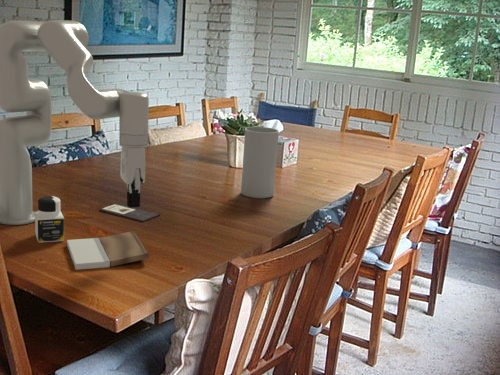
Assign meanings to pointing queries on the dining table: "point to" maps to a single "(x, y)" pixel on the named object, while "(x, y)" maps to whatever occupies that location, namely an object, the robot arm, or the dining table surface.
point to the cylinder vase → (259, 162)
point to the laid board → (88, 253)
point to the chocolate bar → (129, 212)
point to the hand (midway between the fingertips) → (133, 206)
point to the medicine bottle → (49, 220)
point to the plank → (123, 248)
